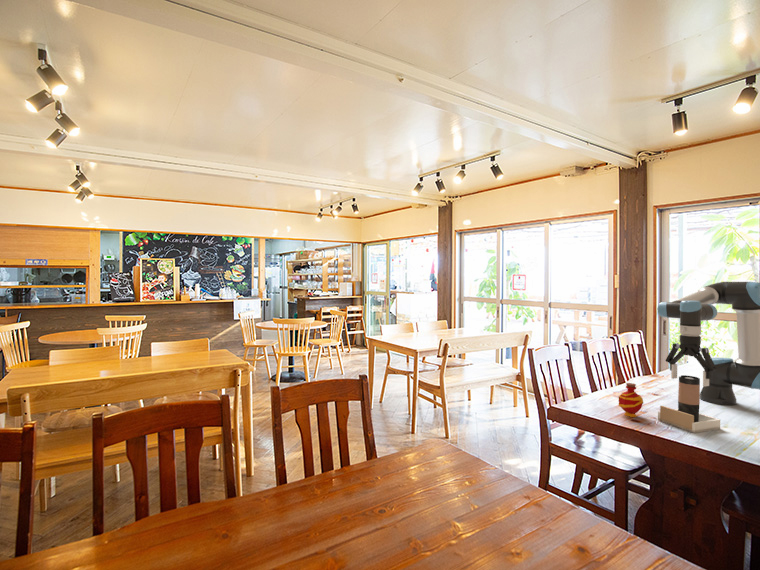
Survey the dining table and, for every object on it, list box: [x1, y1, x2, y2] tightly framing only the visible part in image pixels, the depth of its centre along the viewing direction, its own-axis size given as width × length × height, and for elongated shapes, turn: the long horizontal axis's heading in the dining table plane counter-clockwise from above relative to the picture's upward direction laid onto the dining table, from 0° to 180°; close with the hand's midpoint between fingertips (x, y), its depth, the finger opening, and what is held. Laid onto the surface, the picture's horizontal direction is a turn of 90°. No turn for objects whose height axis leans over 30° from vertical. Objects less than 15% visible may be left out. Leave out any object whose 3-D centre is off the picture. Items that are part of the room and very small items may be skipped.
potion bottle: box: [618, 382, 644, 418], centre depth 192 cm, size 10×10×15 cm
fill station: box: [657, 405, 721, 434], centre depth 180 cm, size 16×16×7 cm
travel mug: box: [677, 374, 701, 423], centre depth 180 cm, size 8×8×20 cm
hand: (689, 382), depth 180 cm, fingers open, 13 cm apart
